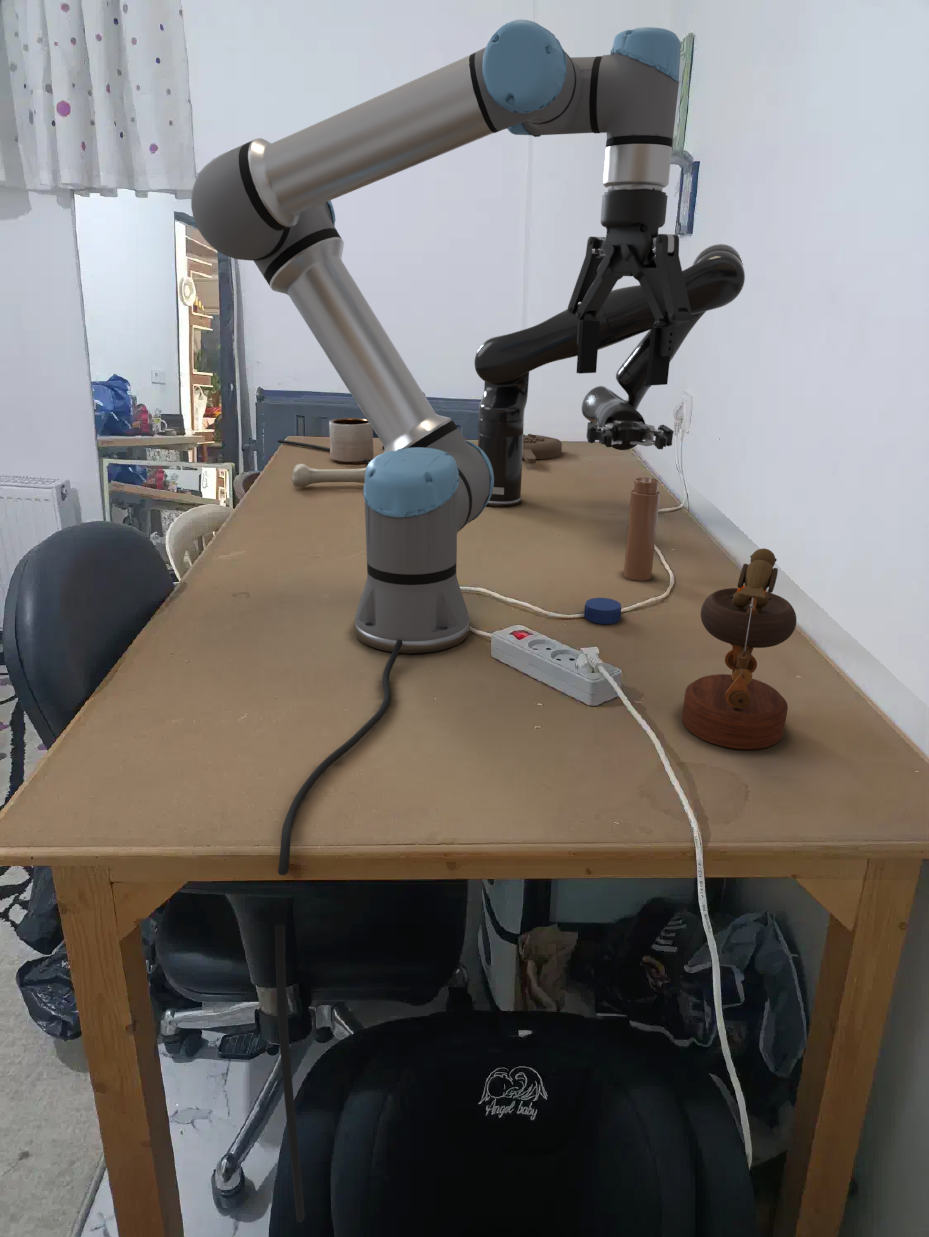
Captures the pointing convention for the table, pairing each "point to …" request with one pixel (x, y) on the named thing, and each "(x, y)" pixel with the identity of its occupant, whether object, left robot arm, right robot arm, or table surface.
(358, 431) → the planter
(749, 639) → the music box
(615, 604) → the lid
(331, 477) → the dog toy
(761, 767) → the table surface
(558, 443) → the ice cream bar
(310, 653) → the table surface
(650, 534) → the bottle
